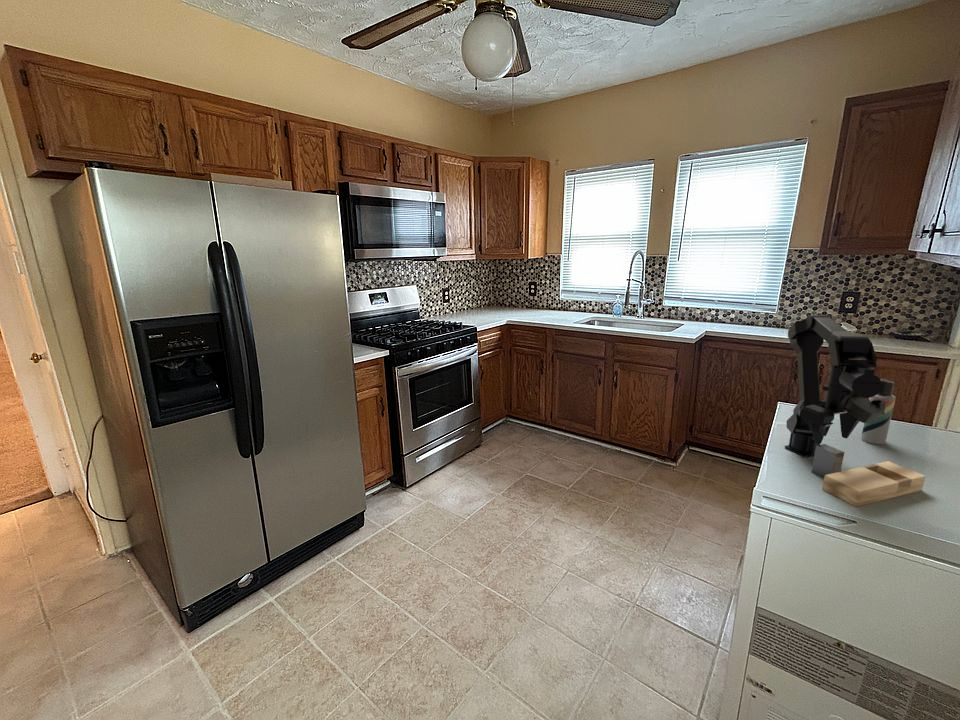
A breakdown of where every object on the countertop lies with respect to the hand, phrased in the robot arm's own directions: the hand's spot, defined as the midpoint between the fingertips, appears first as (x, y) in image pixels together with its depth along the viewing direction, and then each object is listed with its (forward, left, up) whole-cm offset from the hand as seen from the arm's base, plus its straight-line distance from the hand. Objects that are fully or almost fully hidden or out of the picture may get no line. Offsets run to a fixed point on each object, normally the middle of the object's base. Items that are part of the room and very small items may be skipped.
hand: (831, 440), depth 111 cm
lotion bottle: (-10, +34, -11) cm, 37 cm away
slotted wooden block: (+9, +4, -10) cm, 14 cm away
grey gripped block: (0, 0, -10) cm, 10 cm away
